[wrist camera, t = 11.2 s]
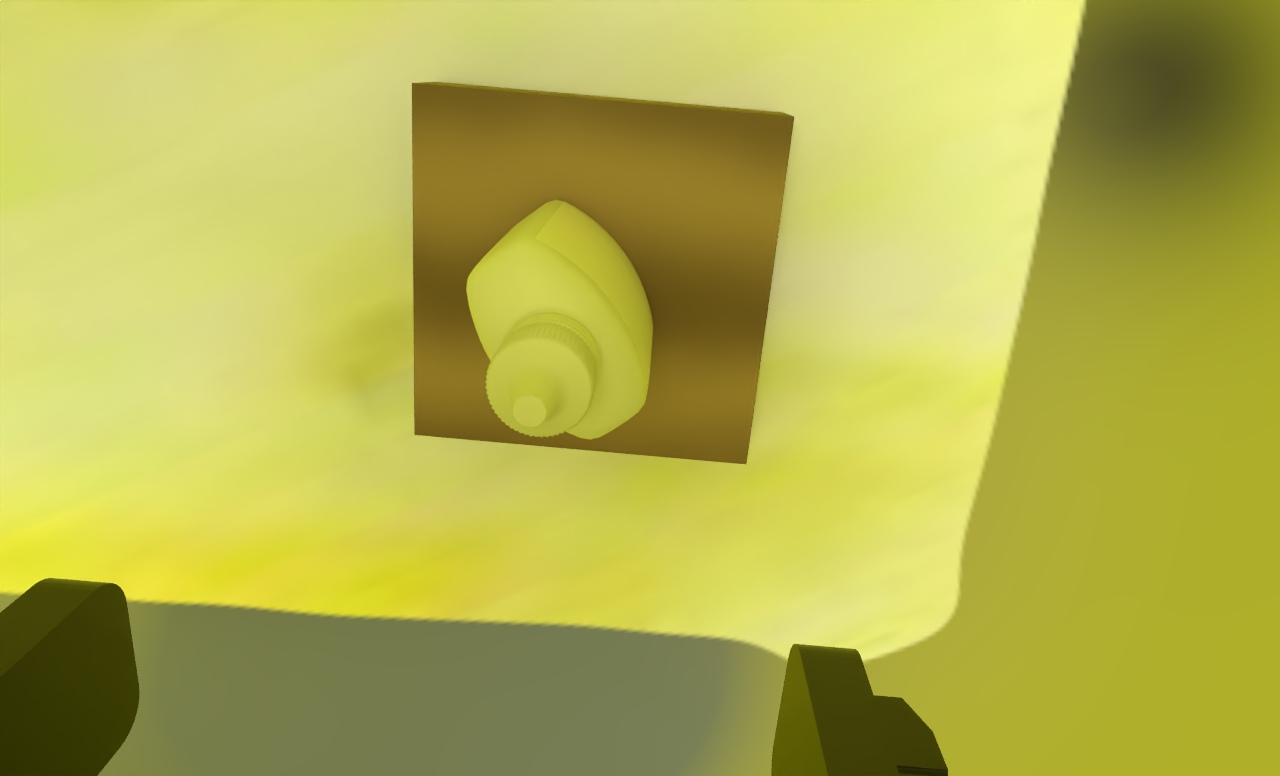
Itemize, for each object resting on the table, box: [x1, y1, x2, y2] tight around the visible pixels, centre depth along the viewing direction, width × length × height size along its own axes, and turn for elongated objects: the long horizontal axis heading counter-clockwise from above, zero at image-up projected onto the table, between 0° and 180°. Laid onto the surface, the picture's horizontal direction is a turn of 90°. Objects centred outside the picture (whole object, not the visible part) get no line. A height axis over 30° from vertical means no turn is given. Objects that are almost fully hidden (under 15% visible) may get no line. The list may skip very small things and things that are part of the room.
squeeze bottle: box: [466, 200, 653, 439], centre depth 23 cm, size 4×6×12 cm
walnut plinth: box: [412, 82, 794, 464], centre depth 31 cm, size 12×12×3 cm
